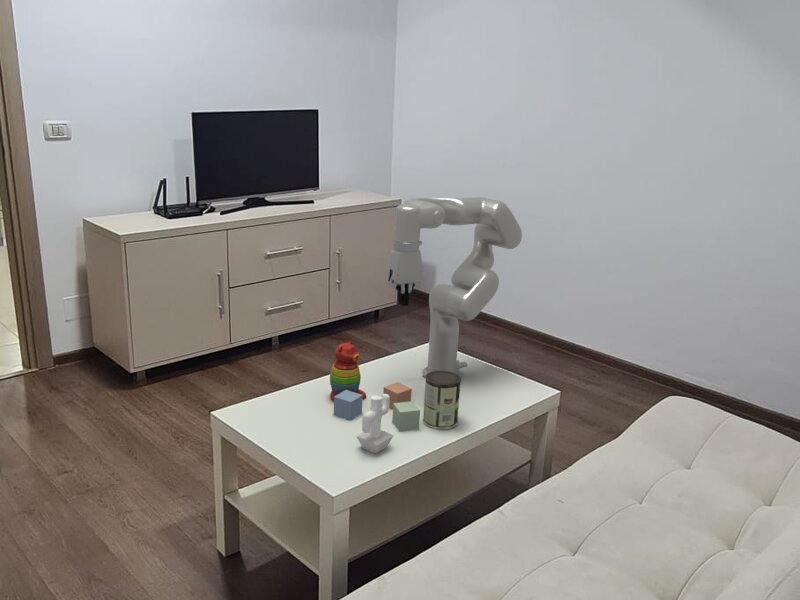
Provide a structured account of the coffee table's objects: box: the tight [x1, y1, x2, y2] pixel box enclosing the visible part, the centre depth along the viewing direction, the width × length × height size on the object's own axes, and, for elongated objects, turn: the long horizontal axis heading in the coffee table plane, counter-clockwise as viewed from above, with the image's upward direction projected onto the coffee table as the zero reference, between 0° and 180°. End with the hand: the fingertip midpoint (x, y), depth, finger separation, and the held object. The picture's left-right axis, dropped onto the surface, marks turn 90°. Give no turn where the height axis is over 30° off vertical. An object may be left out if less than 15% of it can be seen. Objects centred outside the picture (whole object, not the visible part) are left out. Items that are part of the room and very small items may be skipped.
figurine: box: [356, 394, 394, 454], centre depth 198 cm, size 7×9×15 cm
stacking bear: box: [329, 341, 367, 403], centre depth 226 cm, size 11×10×18 cm
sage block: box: [392, 400, 421, 432], centre depth 213 cm, size 6×6×6 cm
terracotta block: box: [382, 381, 413, 411], centre depth 225 cm, size 6×6×6 cm
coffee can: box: [422, 371, 462, 430], centre depth 215 cm, size 10×10×14 cm
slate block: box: [333, 390, 364, 421], centre depth 218 cm, size 6×6×6 cm
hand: (403, 304), depth 226 cm, fingers closed
